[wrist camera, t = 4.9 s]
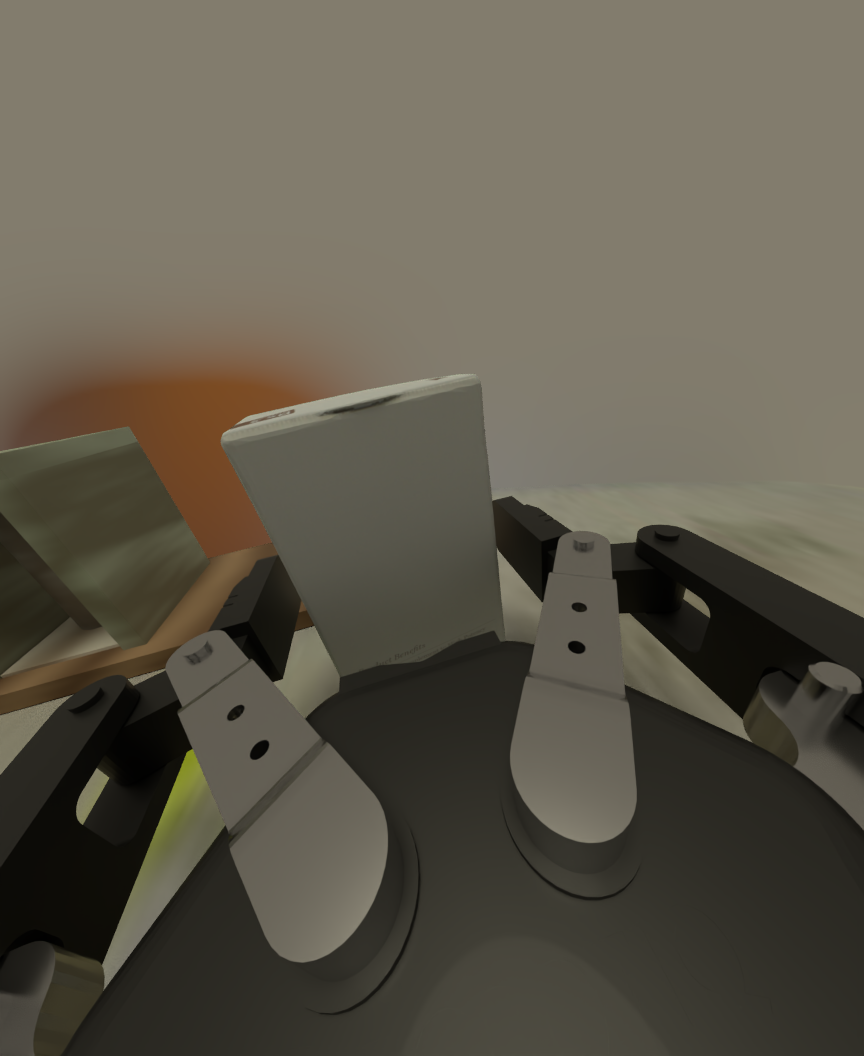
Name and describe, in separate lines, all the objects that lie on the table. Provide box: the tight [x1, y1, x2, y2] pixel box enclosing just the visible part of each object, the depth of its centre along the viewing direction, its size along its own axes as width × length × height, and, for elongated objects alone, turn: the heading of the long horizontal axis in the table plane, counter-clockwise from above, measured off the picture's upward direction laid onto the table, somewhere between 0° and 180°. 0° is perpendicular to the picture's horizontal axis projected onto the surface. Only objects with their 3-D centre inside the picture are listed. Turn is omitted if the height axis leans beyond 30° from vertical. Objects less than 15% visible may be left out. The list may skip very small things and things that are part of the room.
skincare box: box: [221, 374, 505, 677], centre depth 11 cm, size 6×4×12 cm
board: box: [0, 427, 314, 715], centre depth 20 cm, size 26×11×12 cm, turn 103°
